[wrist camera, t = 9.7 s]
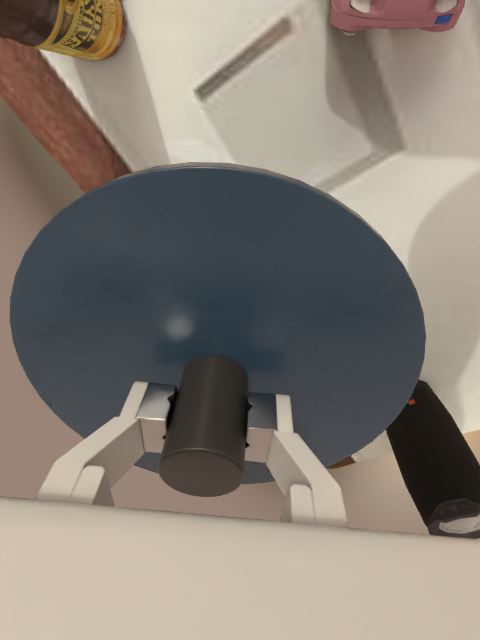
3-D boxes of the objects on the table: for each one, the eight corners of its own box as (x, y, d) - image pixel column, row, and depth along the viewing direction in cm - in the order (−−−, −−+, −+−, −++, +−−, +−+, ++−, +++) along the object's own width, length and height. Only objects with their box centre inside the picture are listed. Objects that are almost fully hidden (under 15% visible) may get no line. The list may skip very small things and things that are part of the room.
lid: (-39, 133, 10) (-274, 171, 5) (496, 184, 10) (677, 260, 6) (73, 450, 19) (18, 557, 14) (351, 475, 19) (377, 589, 15)
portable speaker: (380, 376, 51) (435, 510, 35) (444, 376, 50) (530, 513, 34) (369, 413, 56) (413, 545, 40) (428, 414, 55) (496, 549, 39)
